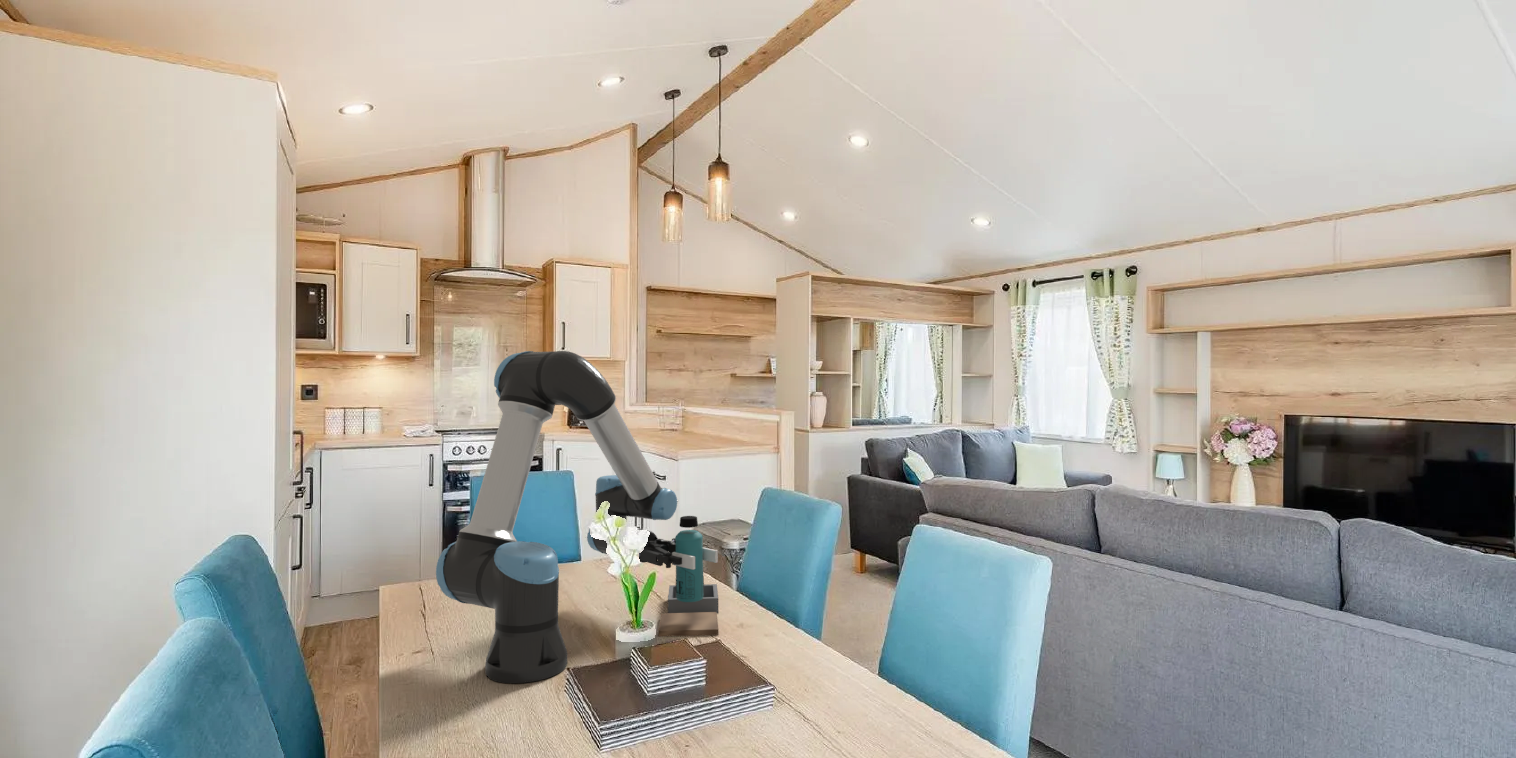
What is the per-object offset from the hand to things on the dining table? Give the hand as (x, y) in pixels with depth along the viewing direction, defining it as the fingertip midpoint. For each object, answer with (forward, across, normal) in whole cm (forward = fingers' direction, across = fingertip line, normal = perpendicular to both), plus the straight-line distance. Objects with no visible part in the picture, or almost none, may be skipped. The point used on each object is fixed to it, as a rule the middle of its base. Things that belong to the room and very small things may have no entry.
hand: (705, 559), depth 162 cm
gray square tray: (-15, -11, -16) cm, 24 cm away
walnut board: (-5, 0, -16) cm, 17 cm away
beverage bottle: (-5, 0, -11) cm, 12 cm away
